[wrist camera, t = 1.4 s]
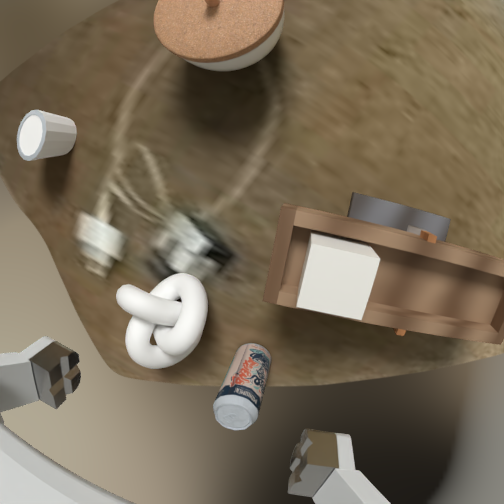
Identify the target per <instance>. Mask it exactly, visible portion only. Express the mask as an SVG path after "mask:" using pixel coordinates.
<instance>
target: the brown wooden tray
mask: <svg viewBox="0 0 504 504" xmlns="http://www.w3.org/2000/svg"><path fill="white" fill-rule="evenodd" d="M450 220H451V219H448V218H445V217H442V216H439V215H436V214H432V213H429V212H425V211H422V210H419V209H415V208H411V207H408V206H404V205H401V204H397V203H393V202H389V201H386V200H382V199H378V198H374V197H370V196H366V195H362V194H358V193H354V192H353V193H352V197H351V202H350V207H349V211H348V216H347V217H346V216H341V215H337V214H333V213H328V212H324V211H319V210H315V209H310V208H305V207H301V206H296V205H291V204H286V203H284V204H283V205H282V207H281V211H280V216H279V221H278V226H277V231H276V237H275V242H274V247H273V252H272V257H271V262H270V267H269V272H268V277H267V282H266V287H265V292H264V296H263V301H265V302H269V303H273V304H278V305H282V306H287V307H291V308H296V309H300V310H305V311H310V312H315V313H319V314H324V315H329V316H334V317H339V318H344V319H349V320H354V321H359V322H364V323H370V324H375V325H380V326H386V327H391V328H393V329H394V331H395V333H396V335H401V336H404V334H405V332H406V330H408V331H414V332H420V333H426V334H432V335H438V336H445V337H451V338H458V339H464V340H471V341H478V342H485V343H493V344H501V343H502V341H503V339H504V259H501V258H497V257H494V256H491V255H488V254H484V253H481V252H478V251H475V250H471V249H468V248H464V247H461V246H458V245H454V244H451V243H447V242H445V240H446V236H447V232H448V228H449V224H450ZM311 230H313V231H317V232H322V233H326V234H331V235H335V236H340V237H344V238H349V239H353V240H357V241H362V242H366V243H368V244H369V245H370V246H371V247H372V249H373V250H374V251H375V253H376V254H377V255H378V256H379V258H380V262H379V266H378V269H377V273H376V276H375V279H374V283H373V286H372V289H371V292H370V296H369V299H368V302H367V305H366V308H365V311H364V314H363V317H362V320H358V319H353V318H348V317H343V316H338V315H333V314H328V313H323V312H318V311H313V310H309V309H304V308H299V307H296V305H297V297H298V288H299V281H300V277H301V273H302V269H303V264H304V260H305V256H306V251H307V247H308V242H309V238H310V233H311Z"/></svg>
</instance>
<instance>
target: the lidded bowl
mask: <svg viewBox="0 0 504 504" xmlns="http://www.w3.org/2000/svg"><path fill="white" fill-rule="evenodd" d="M283 25H284V0H159V1H158V3H157V6H156V9H155V13H154V28H155V33H156V35H157V37H158V39H159V41H160V42H161V43H162V45H163V46H164V47H166V48H167V49H168V50H169V51H170V52H172V53H173V54H175V55H177V56H178V57H181V58H182V59H184V60H185V61H187V62H189V63H191V64H193V65H195V66H198V67H200V68H204V69H208V70H212V71H233V70H238V69H242V68H245V67H248V66H250V65H253V64H255V63H256V62H258V61H260V60H261V59H262V58H264V57H265V56H266V55H267V54H268V53H269V52H270V51H271V50H272V49H273V48H274V46H275V45H276V43H277V42H278V40H279V38H280V35H281V33H282V29H283Z"/></svg>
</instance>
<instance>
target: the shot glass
mask: <svg viewBox="0 0 504 504" xmlns="http://www.w3.org/2000/svg"><path fill="white" fill-rule="evenodd" d="M76 135H77V132H76V126H75V124H74V122H73V121H72V120H71V119H70V118H66V117H63V116H59V115H55V114H51V113H48V112H44V111H40V110H32V111H30V112H29V113H28V114H26V116H25V117H24V118H23V120H22V121H21V124H20V127H19V129H18V135H17V148H18V151H19V154H20V156H21V157H22V158H23V159H24V160H29V161H31V160H36V159H42V158H48V157H54V156H61V155H65V154H67V153H68V152H69V151H70V150H71V149H72V148H73V145H74V143H75V141H76Z"/></svg>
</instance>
